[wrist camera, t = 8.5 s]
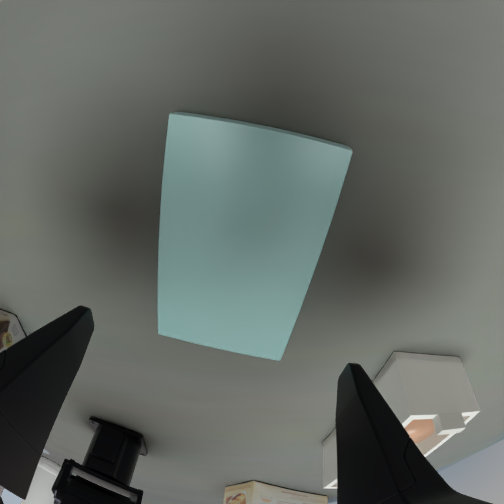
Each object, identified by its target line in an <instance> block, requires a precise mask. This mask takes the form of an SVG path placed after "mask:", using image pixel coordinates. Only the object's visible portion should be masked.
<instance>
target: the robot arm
mask: <svg viewBox="0 0 504 504" xmlns="http://www.w3.org/2000/svg"><path fill="white" fill-rule="evenodd" d="M93 330H94V321H93V316H92V312H91V309H90V308H88V307H85V306H78V307H76V308H74V309H73V310H71V311H69V312H67V313H66V314H64V315H62V316H60V317H59V318H57V319H55V320H54V321H52V322H50V323H48V324H47V325H45V326H43V327H42V328H40V329H38V330H37V331H35V332H33V333H32V334H30V335H28V336H27V337H25V338H23V339H22V340H20V341H18V342H17V343H15V344H13V345H12V346H10V347H8V348H7V350H6V349H5V350H3V351H2V352H0V504H4V503H3V501H2V498H1V494H2V492H3V489H4V488H5V489H7V490H9V491H10V492H12V493H13V494H15V495H17V496H19V497H20V498H22V499H24V500H25V499H26V497H27V494H28V491H29V488H30V485H31V482H32V479H33V477H34V474H35V471H36V468H37V466H38V463H39V460H40V458H41V456H40V455H41V454H42V452H43V449H44V447H45V444H46V442H47V439H48V437H49V434H50V432H51V429H52V427H53V425H54V422H55V420H56V418H57V415H58V413H59V411H60V408H61V406H62V404H63V402H64V400H65V397H66V395H67V393H68V391H69V389H70V387H71V384H72V382H73V380H74V378H75V376H76V374H77V372H78V370H79V368H80V365H81V363H82V360H83V357H84V355H85V352H86V349H87V346H88V344H89V341H90V338H91V336H92V333H93ZM89 422H90V424H91V426H92V428H93V430H94V432H95V434H94V436H93V438H92V441H91V443H90V446H89V448H88V451H87V453H86V456H85V458H84V461H83V464H82V465H80V464H78V463H76V462H75V461H74V460H72V459H70V460H68V459H65V460H64V462H63V465H62V467H61V469H60V472H59V474H58V476H57V478H56V480H55V482H54V484H53V486H52V489H51V490H52V492H53V494H54V504H141V501H142V495H143V491H142V490H139V489H138V490H137V489H135V488H132V487H130V482H131V479H132V476H133V472H134V469H135V466H136V463H137V460H138V456H139V455H143V456H147V450H146V447H145V443H144V440H143V436H142V435H140V434H138V433H135V432H132V431H129V430H126V429H123V428H120V427H117V426H114V425H111V424H108V423H105V422H103V421H100V420H97V419H95V418H92V417H90V418H89ZM336 445H337V504H492V503H488V502H485V501H482V500H478V499H475V498H472V497H469V496H466V495H463V494H460V493H458V492H456V491H455V490H453V489H452V488H451V487H450V486H449V485H448V484H447V483H446V482H445V481H444V479H443V478H442V477H441V476H440V475H439V474H438V472H437V471H436V470H435V469H434V468H433V466H432V465H431V464H430V463H429V462H428V460H427V459H426V458H425V457H424V455H423V454H422V453H421V451H420V450H419V448H418V447H417V446H416V444H415V443H414V441H413V440H412V438H410V436H409V434H408V433H407V431H406V430H405V428H404V427H403V425H402V424H401V422H400V421H399V420H398V418H397V417H396V415H395V414H394V412H393V411H392V409H391V408H390V407H389V405H388V404H387V402H386V401H385V399H384V398H383V396H382V395H381V394H380V392H379V391H378V389H377V388H376V386H375V385H374V384H373V382H372V381H371V379H370V378H369V377H368V375H367V374H366V372H365V371H364V369H363V368H362V367H361V365H359V364H356V363H348V364H347V365H346V367H345V368H344V370H343V372H342V373H341V375H340V377H339V379H338V389H337V406H336ZM72 472H74V473H76V474H78V475H80V476H82V477H84V478H86V479H88V480H90V481H88V480H86V479H84V478H82V477H80V476H78V475H77V476H74V475H72ZM91 481H92V482H91ZM93 482H94V483H93ZM95 483H97V484H99V485H101V486H99V485H97V484H95ZM102 486H103V487H102ZM104 487H106V488H108V489H106V488H104ZM109 489H110V490H109ZM111 490H113V491H115V492H113V491H111ZM116 492H118V493H120V494H118V493H116ZM121 494H123V495H125V496H123V495H121ZM126 496H128V497H130V498H128V497H126Z"/></svg>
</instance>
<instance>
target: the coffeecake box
mask: <svg viewBox="0 0 504 504" xmlns="http://www.w3.org/2000/svg"><path fill="white" fill-rule="evenodd" d="M327 502H328V497H327V496H322V495H315V494H310V493H304V492H299V491H294V490H289V489H285V488H280V487H276V486H272V485H268V484H264V483H260V482H257V481H250V482H247V483H242V484H237V485H232V486H227V487H225V494H224V500H223V504H327Z"/></svg>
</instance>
